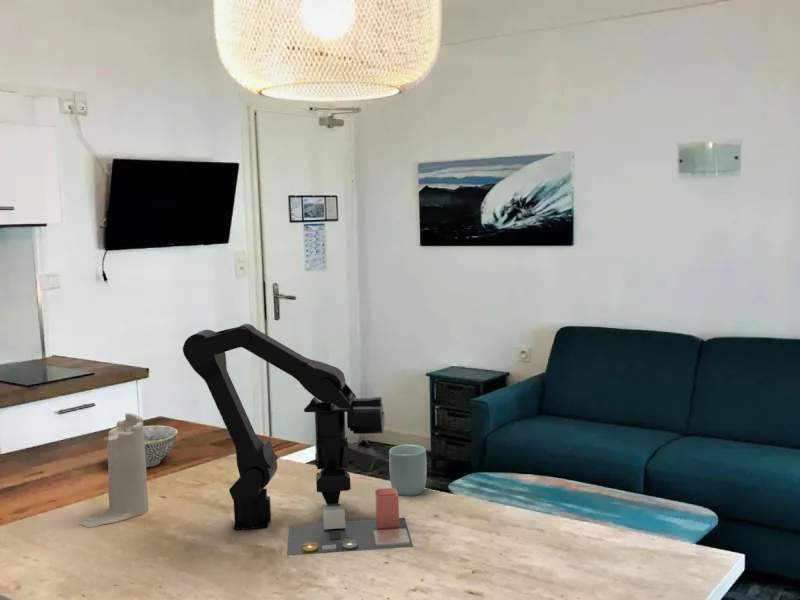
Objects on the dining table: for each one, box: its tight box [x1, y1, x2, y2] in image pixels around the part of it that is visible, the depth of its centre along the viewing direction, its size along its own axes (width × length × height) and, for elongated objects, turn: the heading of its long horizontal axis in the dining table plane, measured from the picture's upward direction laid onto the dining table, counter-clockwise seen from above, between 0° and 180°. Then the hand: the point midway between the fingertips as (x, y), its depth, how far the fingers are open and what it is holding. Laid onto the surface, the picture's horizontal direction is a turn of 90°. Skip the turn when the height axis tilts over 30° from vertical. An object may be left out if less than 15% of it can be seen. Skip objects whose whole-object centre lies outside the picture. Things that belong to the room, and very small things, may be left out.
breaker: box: [322, 502, 346, 529], centre depth 156 cm, size 4×3×4 cm
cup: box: [388, 444, 427, 496], centre depth 175 cm, size 8×8×10 cm
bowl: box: [143, 425, 178, 468], centre depth 204 cm, size 16×16×8 cm
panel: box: [286, 517, 414, 557], centre depth 152 cm, size 22×14×2 cm, turn 96°
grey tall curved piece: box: [79, 412, 149, 528], centre depth 167 cm, size 7×14×20 cm, turn 137°
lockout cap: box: [374, 487, 400, 528], centre depth 157 cm, size 4×4×6 cm
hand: (333, 512), depth 161 cm, fingers closed
